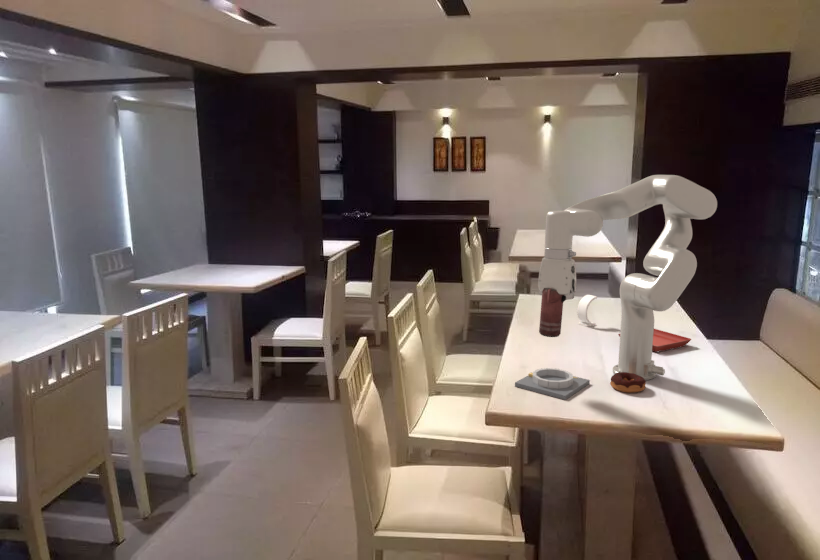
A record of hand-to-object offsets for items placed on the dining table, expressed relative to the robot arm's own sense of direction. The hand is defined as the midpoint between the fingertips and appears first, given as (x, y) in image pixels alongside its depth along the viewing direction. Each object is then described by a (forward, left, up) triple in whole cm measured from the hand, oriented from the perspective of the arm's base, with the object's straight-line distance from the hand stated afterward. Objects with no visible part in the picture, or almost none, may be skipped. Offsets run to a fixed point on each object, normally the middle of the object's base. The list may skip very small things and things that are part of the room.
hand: (555, 316), depth 171 cm
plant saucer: (-9, -61, -22) cm, 65 cm away
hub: (0, 0, -21) cm, 21 cm away
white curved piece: (+21, -70, -21) cm, 76 cm away
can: (+1, 0, -6) cm, 6 cm away
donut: (-18, -12, -21) cm, 30 cm away
